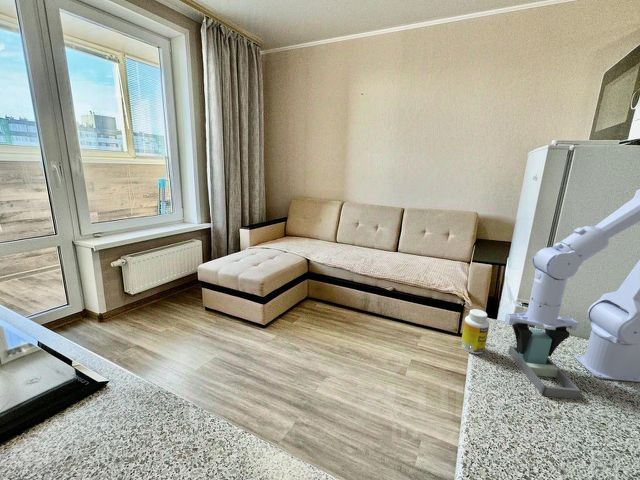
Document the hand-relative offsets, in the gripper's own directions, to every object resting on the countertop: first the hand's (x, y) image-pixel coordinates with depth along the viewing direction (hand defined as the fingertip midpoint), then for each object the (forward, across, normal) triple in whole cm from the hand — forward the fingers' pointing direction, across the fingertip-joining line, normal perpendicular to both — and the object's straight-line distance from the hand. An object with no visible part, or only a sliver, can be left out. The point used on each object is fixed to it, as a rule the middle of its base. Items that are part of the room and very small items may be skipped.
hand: (533, 352), depth 73 cm
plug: (+3, 0, 0) cm, 3 cm away
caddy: (+3, 0, -4) cm, 5 cm away
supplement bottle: (+3, -12, +4) cm, 13 cm away
